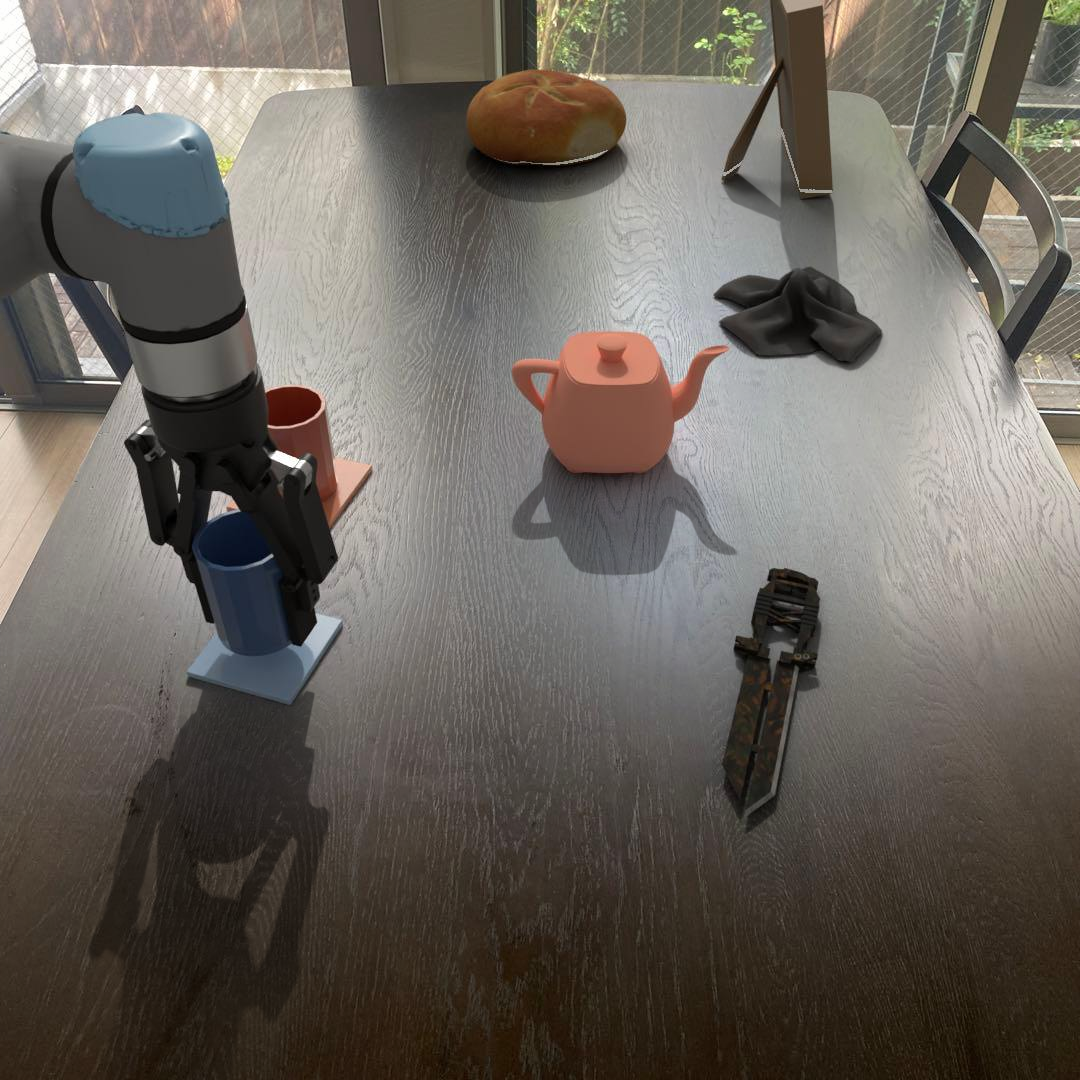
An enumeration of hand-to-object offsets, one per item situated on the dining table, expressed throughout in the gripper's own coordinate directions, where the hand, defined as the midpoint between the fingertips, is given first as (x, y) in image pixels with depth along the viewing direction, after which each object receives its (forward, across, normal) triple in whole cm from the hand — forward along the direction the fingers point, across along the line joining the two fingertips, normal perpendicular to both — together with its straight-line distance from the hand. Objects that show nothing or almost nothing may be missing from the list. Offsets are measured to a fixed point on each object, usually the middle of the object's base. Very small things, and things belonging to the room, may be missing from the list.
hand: (261, 622), depth 84 cm
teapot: (+4, -19, -35) cm, 40 cm away
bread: (+3, +11, -104) cm, 105 cm away
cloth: (+4, -32, -67) cm, 74 cm away
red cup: (+3, +7, -19) cm, 20 cm away
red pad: (+3, +7, -19) cm, 21 cm away
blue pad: (+3, 0, 0) cm, 3 cm away
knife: (+4, -39, -9) cm, 40 cm away
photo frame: (+4, -22, -108) cm, 110 cm away
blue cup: (0, 0, 0) cm, 0 cm away
